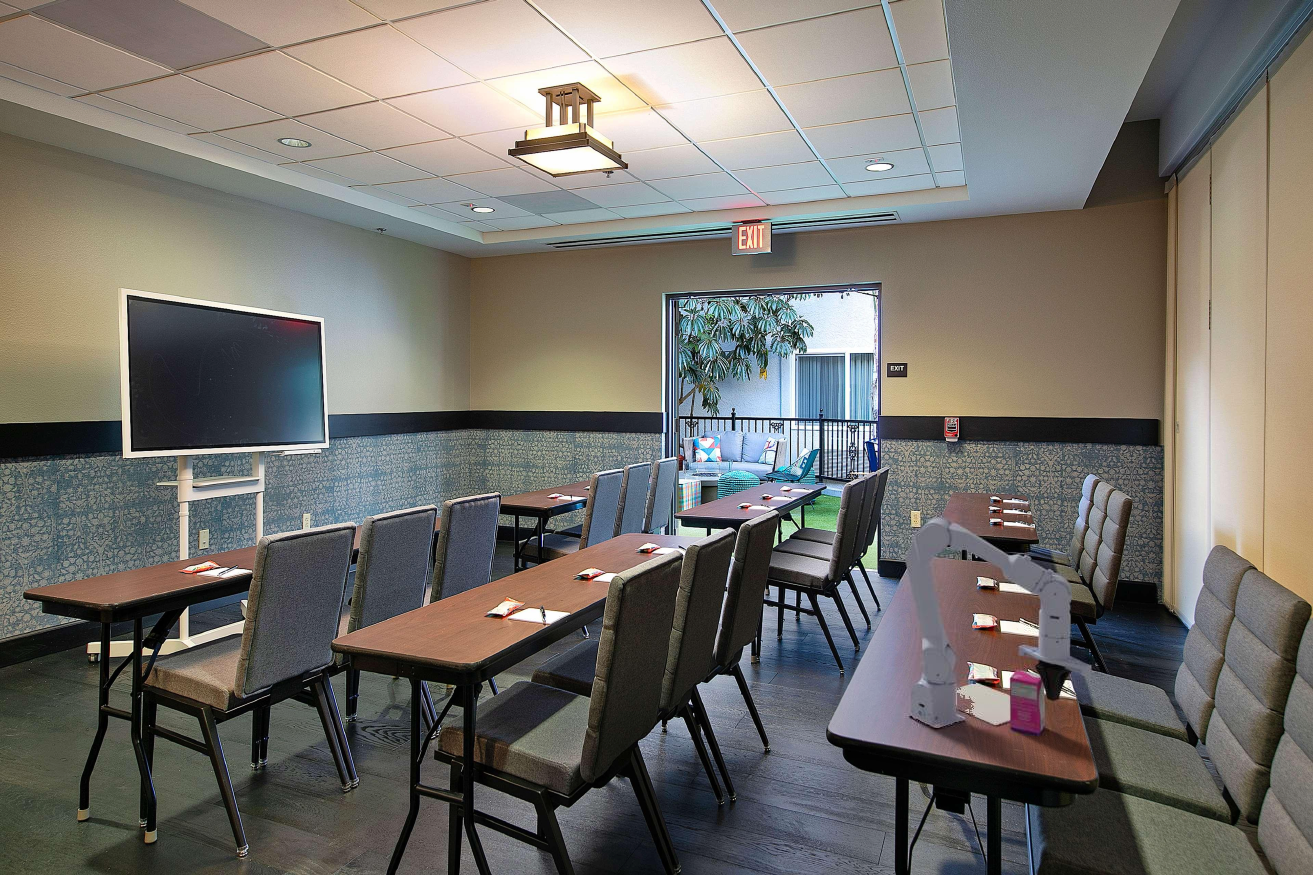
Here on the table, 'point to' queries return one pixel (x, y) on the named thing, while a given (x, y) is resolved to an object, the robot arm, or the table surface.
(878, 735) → the table surface
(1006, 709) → the grey mat
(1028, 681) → the supplement box
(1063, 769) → the table surface
